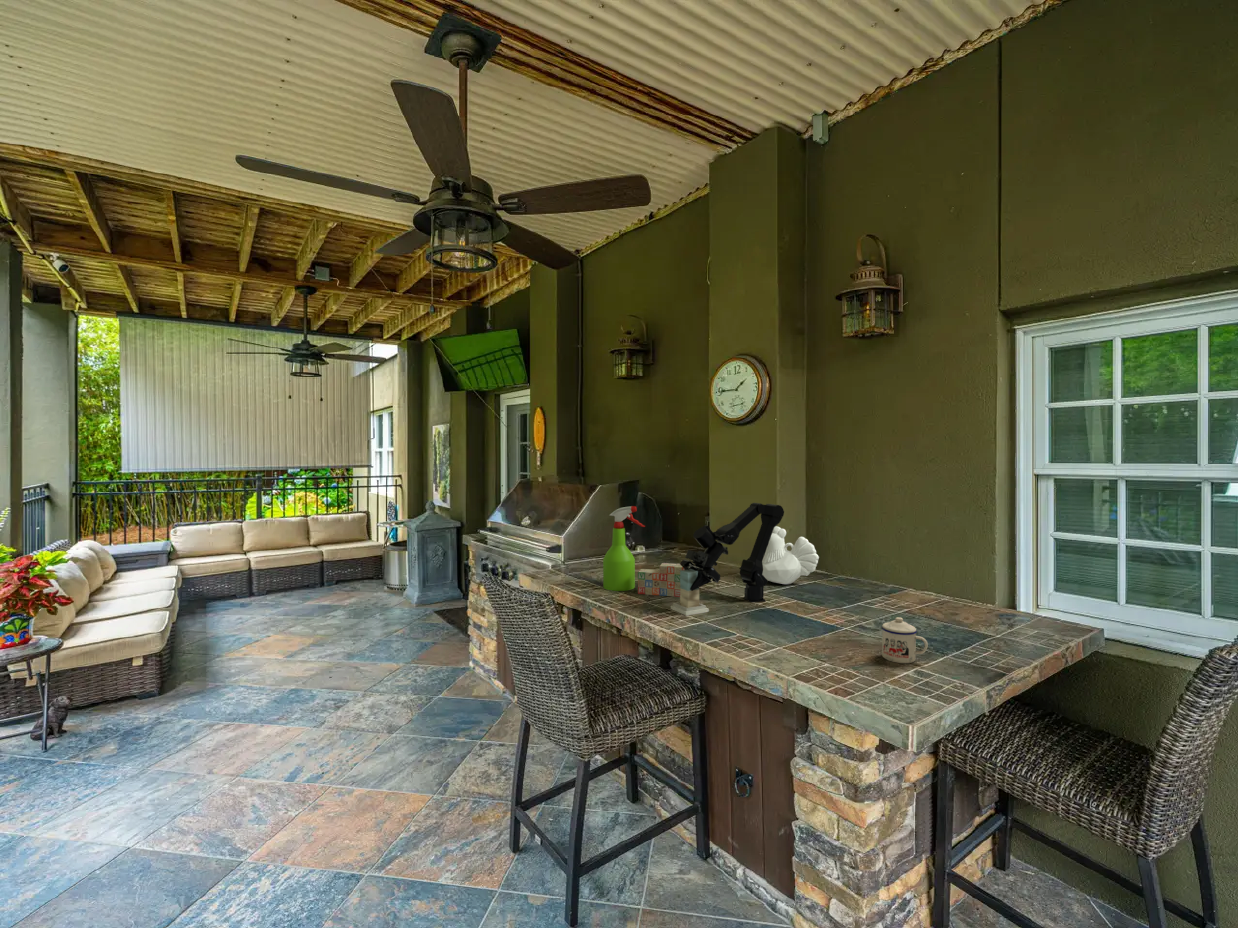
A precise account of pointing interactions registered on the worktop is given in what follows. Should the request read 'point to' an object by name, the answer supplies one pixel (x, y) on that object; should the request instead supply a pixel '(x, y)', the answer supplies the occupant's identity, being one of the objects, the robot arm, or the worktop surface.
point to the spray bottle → (620, 555)
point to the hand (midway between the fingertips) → (686, 588)
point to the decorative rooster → (788, 558)
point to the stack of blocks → (660, 580)
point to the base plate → (689, 609)
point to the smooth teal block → (688, 589)
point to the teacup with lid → (900, 641)
